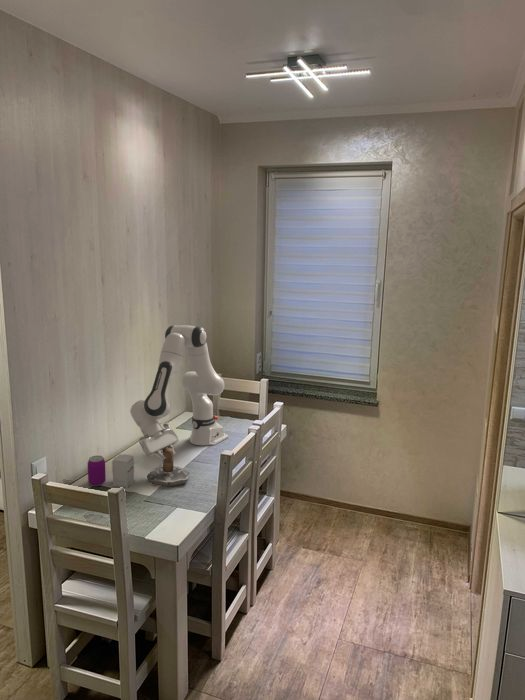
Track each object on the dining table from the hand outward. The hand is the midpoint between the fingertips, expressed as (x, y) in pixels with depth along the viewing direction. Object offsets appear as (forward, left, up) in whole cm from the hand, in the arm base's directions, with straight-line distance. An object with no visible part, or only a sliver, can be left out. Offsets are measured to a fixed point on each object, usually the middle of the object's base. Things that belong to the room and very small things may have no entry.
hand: (169, 456), depth 237 cm
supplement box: (+17, -12, -12) cm, 24 cm away
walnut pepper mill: (0, -1, -7) cm, 7 cm away
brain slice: (0, -1, -12) cm, 12 cm away
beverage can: (+25, -21, -12) cm, 35 cm away
